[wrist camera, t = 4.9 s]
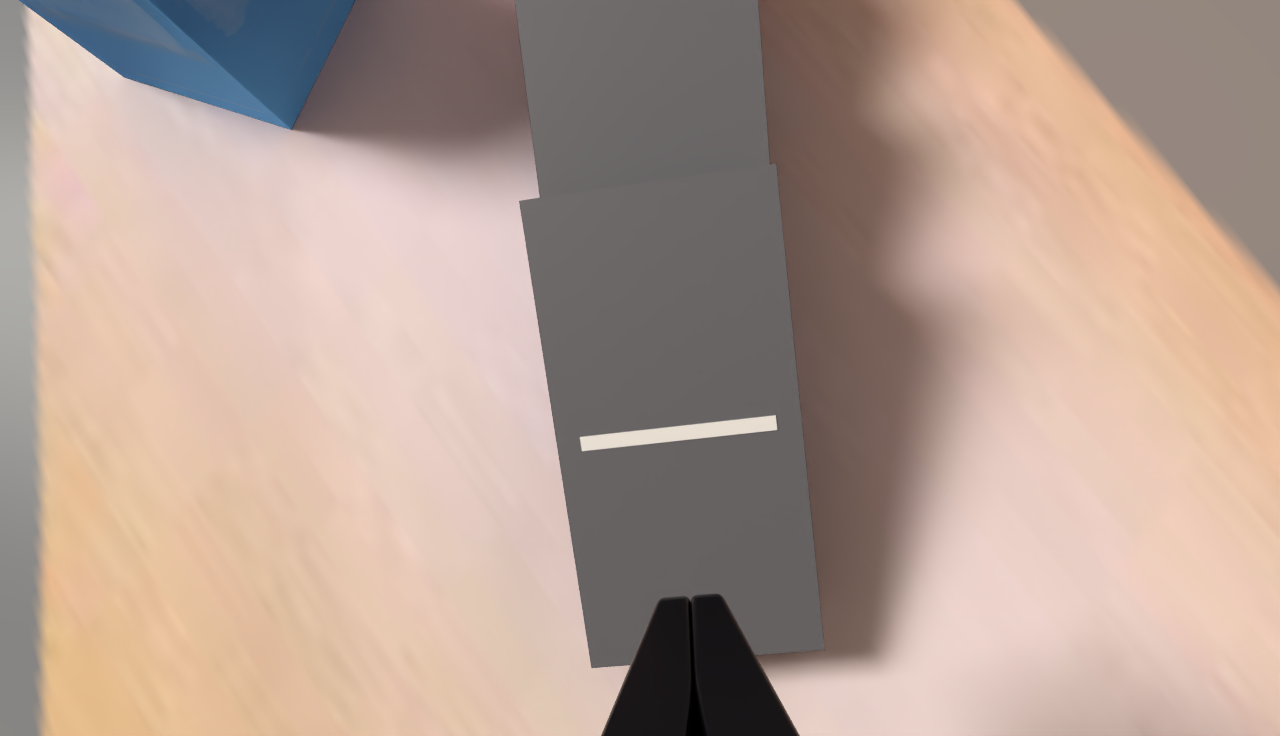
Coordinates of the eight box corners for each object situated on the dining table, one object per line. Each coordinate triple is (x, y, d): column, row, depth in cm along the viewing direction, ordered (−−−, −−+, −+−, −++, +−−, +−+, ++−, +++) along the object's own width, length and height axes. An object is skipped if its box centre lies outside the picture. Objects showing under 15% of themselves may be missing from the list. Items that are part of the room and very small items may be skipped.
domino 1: (789, 429, 15) (754, -50, 14) (571, 447, 16) (512, -15, 14) (780, 412, 17) (747, -19, 15) (582, 428, 17) (530, 12, 16)
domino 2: (824, 650, 14) (776, 163, 13) (591, 668, 15) (519, 201, 13) (811, 611, 16) (766, 174, 14) (601, 627, 16) (538, 207, 15)
